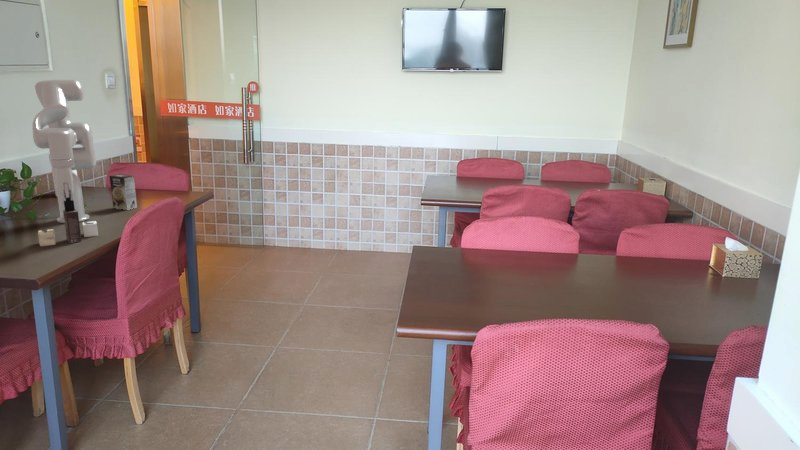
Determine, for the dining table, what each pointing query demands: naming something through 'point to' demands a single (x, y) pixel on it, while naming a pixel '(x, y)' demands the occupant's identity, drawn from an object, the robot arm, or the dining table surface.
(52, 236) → the birch digit block
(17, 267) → the dining table surface
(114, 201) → the coffee box
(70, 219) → the box
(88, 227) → the offwhite digit block
